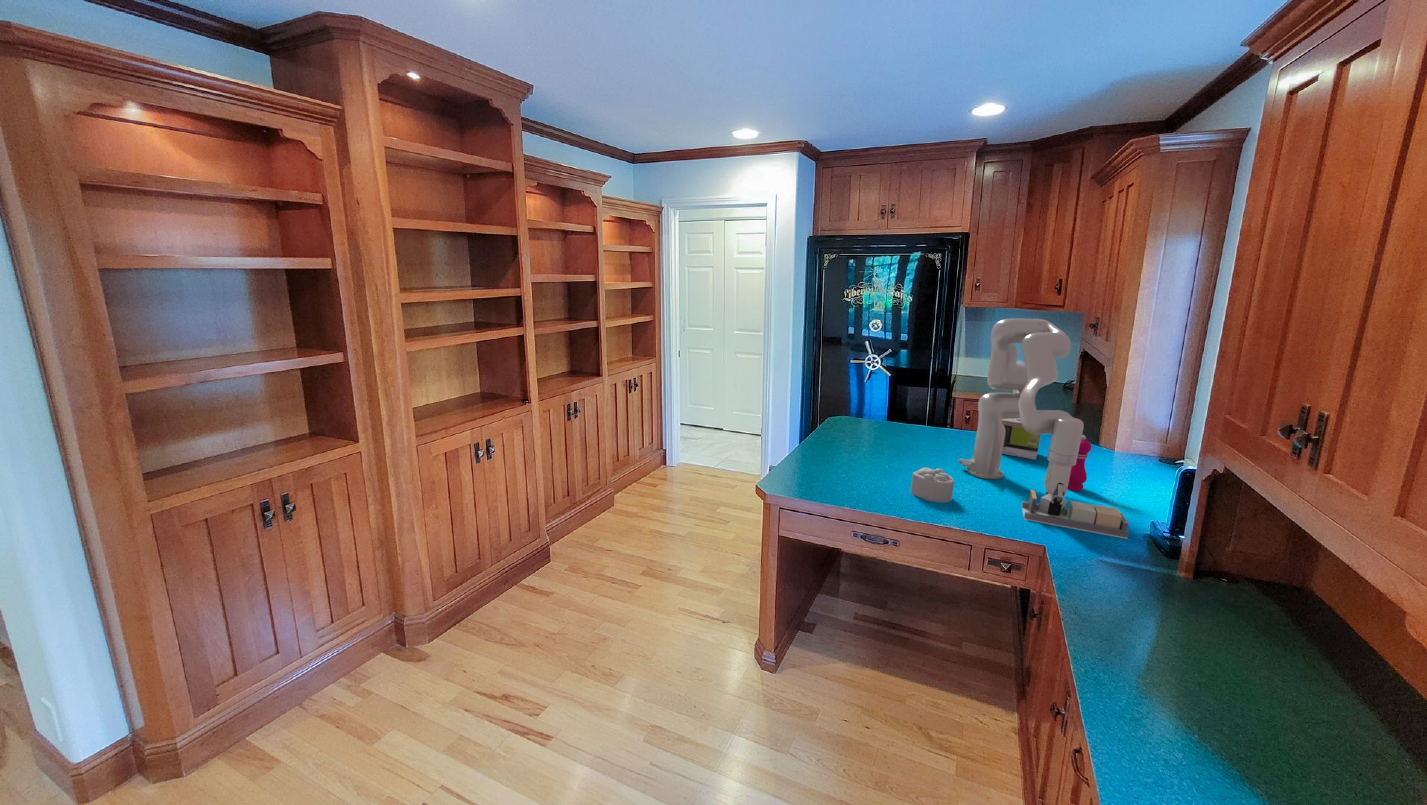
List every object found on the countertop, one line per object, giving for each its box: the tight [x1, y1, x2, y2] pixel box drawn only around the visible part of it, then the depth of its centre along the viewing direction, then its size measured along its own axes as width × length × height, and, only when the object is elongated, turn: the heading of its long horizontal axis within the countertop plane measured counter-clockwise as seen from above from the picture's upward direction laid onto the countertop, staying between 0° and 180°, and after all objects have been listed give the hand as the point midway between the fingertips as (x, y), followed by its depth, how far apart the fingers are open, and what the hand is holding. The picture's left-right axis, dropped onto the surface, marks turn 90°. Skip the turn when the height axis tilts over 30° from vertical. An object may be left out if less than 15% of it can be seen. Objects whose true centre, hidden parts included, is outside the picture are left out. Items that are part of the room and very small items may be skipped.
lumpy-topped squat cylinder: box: [910, 467, 955, 503], centre depth 191 cm, size 10×13×9 cm
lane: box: [1021, 500, 1130, 540], centre depth 173 cm, size 27×11×5 cm, turn 66°
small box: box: [1038, 494, 1068, 517], centre depth 175 cm, size 6×6×5 cm
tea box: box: [1001, 418, 1042, 461], centre depth 233 cm, size 15×10×15 cm
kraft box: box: [1093, 504, 1122, 529], centre depth 170 cm, size 6×6×6 cm
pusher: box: [1028, 489, 1038, 513], centre depth 177 cm, size 1×7×6 cm, turn 157°
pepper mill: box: [1067, 434, 1092, 492], centre depth 199 cm, size 7×7×20 cm
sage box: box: [1067, 500, 1096, 524], centre depth 172 cm, size 6×6×6 cm
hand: (1051, 509), depth 175 cm, fingers open, 7 cm apart
